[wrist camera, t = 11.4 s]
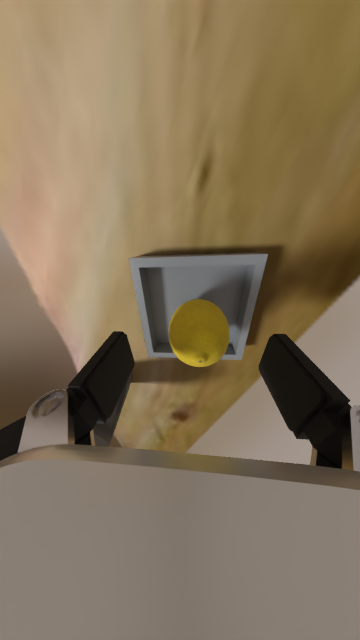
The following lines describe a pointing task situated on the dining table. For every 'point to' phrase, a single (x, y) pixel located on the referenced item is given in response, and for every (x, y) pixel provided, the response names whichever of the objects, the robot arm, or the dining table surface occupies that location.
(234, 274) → the tray
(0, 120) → the dining table surface
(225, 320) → the lemon
